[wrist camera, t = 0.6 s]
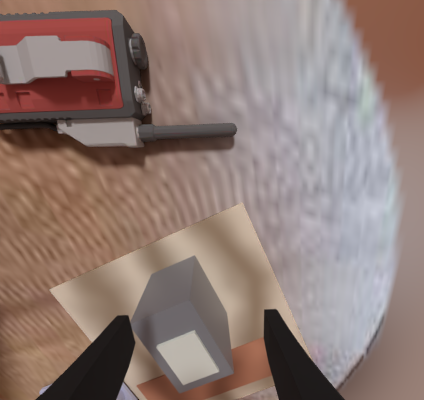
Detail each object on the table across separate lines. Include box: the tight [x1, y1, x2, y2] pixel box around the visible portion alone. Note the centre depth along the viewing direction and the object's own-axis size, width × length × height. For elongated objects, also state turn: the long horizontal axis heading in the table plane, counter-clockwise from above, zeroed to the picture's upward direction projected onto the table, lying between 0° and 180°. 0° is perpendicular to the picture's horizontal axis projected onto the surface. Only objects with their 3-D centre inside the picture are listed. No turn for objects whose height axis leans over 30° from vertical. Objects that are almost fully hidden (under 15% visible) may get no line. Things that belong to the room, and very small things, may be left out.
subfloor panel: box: [49, 203, 313, 400], centre depth 22 cm, size 22×24×1 cm
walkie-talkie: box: [0, 10, 237, 148], centre depth 14 cm, size 9×4×20 cm
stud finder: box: [130, 255, 234, 394], centre depth 18 cm, size 5×8×6 cm, turn 25°
